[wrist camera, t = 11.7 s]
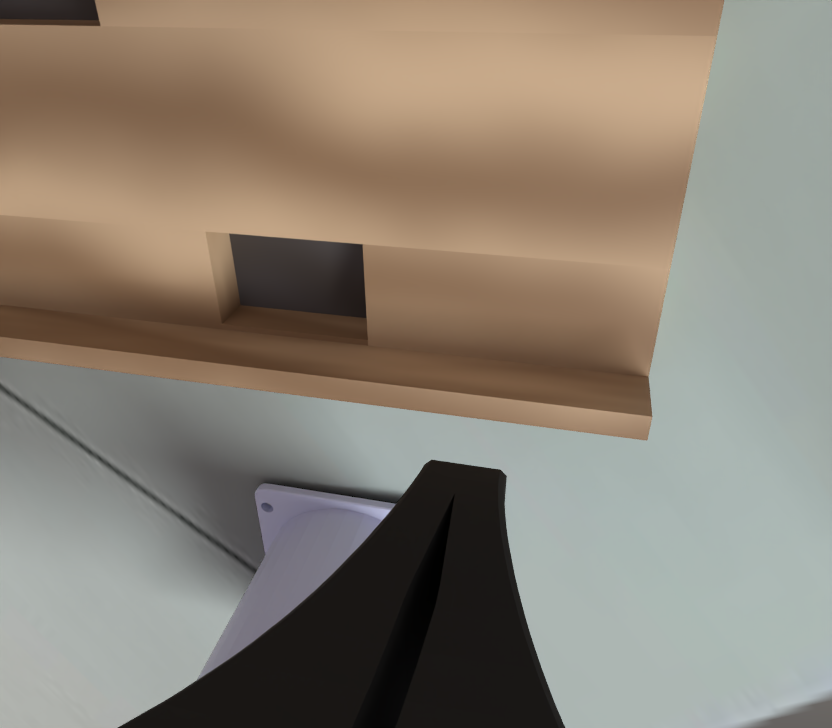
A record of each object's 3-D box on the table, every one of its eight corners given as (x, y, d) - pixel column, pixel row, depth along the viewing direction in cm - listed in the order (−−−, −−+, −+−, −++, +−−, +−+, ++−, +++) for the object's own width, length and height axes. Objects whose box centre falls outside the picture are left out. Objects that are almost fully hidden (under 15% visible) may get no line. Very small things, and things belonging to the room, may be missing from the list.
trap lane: (641, 373, 22) (647, 447, 18) (-113, 289, 27) (-206, 335, 24) (752, -196, 14) (793, -233, 11) (-313, -146, 20) (-484, -162, 17)
